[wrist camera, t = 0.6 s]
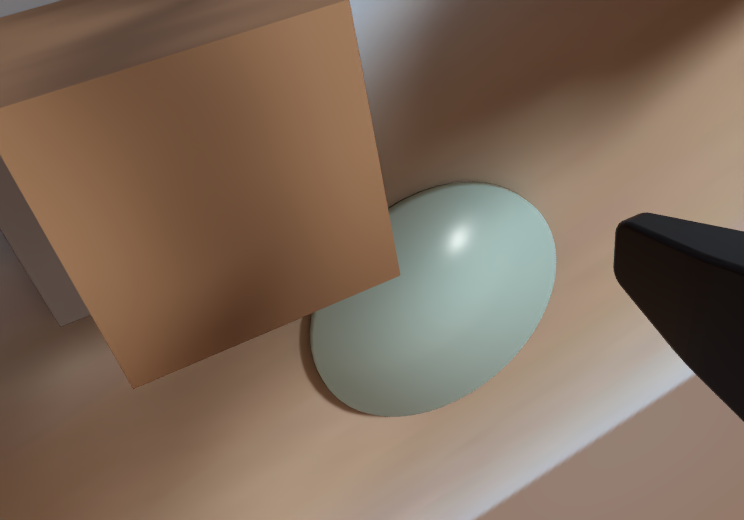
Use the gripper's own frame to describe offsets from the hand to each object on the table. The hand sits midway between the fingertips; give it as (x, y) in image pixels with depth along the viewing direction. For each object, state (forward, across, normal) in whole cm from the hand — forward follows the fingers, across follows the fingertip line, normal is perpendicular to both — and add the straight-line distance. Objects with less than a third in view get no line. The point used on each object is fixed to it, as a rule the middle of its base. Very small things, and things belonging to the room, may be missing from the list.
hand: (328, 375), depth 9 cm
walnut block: (+11, 0, 0) cm, 11 cm away
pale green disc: (+11, -6, +11) cm, 17 cm away
